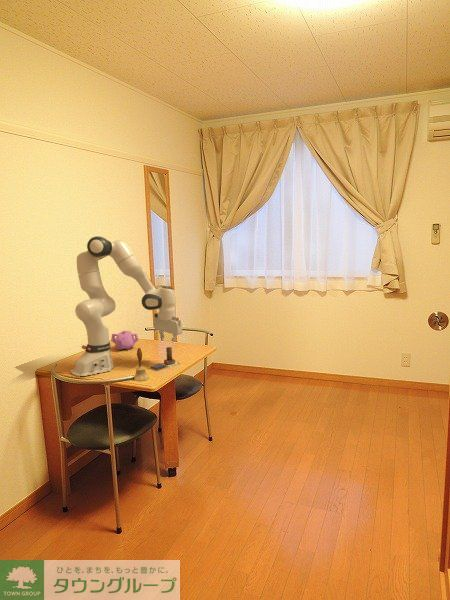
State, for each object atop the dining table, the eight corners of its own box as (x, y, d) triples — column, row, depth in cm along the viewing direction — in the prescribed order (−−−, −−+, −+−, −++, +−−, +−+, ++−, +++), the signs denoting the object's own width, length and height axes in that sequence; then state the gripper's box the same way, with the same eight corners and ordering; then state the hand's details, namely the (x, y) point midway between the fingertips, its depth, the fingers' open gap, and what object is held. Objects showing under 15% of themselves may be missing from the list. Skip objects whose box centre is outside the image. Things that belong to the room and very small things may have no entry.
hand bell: (143, 382, 202) (142, 351, 200) (129, 380, 205) (127, 349, 203) (152, 376, 210) (151, 346, 207) (138, 374, 213) (137, 345, 210)
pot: (116, 344, 272) (115, 327, 270) (142, 344, 271) (141, 327, 269) (107, 352, 254) (106, 334, 252) (135, 352, 253) (134, 334, 252)
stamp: (167, 365, 226) (166, 349, 224) (164, 363, 229) (163, 347, 228) (175, 363, 229) (174, 347, 227) (172, 362, 232) (171, 346, 230)
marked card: (168, 367, 223) (168, 366, 223) (159, 364, 229) (159, 364, 228) (180, 363, 230) (180, 363, 230) (171, 361, 235) (171, 360, 235)
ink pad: (156, 370, 219) (156, 368, 219) (150, 368, 223) (149, 366, 222) (165, 367, 223) (165, 365, 223) (159, 365, 227) (159, 363, 227)
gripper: (184, 317, 220) (185, 342, 222) (160, 312, 233) (160, 335, 236) (176, 319, 215) (176, 344, 218) (151, 313, 229) (151, 337, 231)
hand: (168, 339), depth 227 cm, fingers open, 8 cm apart
